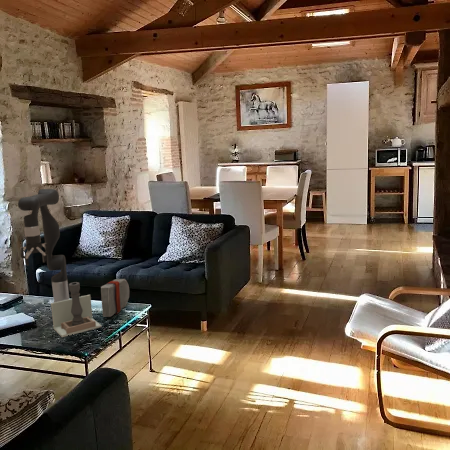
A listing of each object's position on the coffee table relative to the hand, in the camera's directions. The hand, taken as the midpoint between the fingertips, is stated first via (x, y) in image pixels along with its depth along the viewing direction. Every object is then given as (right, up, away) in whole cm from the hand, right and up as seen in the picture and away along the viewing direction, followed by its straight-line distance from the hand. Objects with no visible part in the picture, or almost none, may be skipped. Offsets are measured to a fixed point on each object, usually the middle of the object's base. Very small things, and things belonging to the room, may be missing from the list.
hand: (36, 263), depth 275 cm
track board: (+20, -36, +9) cm, 42 cm away
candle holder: (+21, -36, +7) cm, 42 cm away
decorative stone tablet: (+37, -31, +33) cm, 58 cm away
